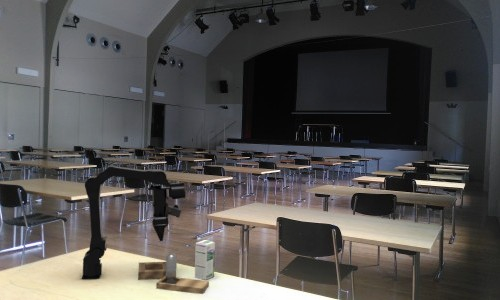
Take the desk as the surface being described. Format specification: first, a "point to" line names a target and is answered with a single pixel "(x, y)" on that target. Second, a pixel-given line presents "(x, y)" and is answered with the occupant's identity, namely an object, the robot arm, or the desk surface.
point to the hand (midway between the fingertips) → (161, 238)
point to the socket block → (152, 270)
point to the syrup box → (204, 259)
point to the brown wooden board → (184, 285)
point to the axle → (171, 268)
